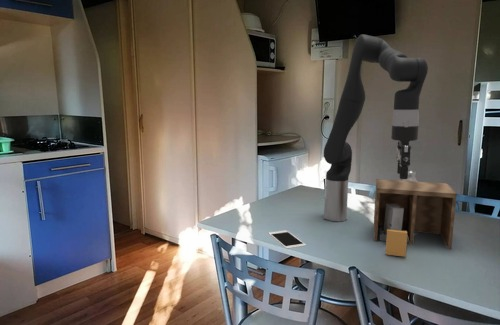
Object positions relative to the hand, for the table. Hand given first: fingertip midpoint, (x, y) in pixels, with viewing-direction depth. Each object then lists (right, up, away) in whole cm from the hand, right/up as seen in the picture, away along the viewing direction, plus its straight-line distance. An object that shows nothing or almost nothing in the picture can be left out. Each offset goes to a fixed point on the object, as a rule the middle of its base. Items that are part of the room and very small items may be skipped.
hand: (402, 176), depth 115 cm
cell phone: (-35, -24, +19) cm, 46 cm away
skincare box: (+5, -24, +21) cm, 32 cm away
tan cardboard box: (+3, -24, +15) cm, 28 cm away
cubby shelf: (+11, -23, +21) cm, 33 cm away
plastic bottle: (+22, -19, +47) cm, 55 cm away
